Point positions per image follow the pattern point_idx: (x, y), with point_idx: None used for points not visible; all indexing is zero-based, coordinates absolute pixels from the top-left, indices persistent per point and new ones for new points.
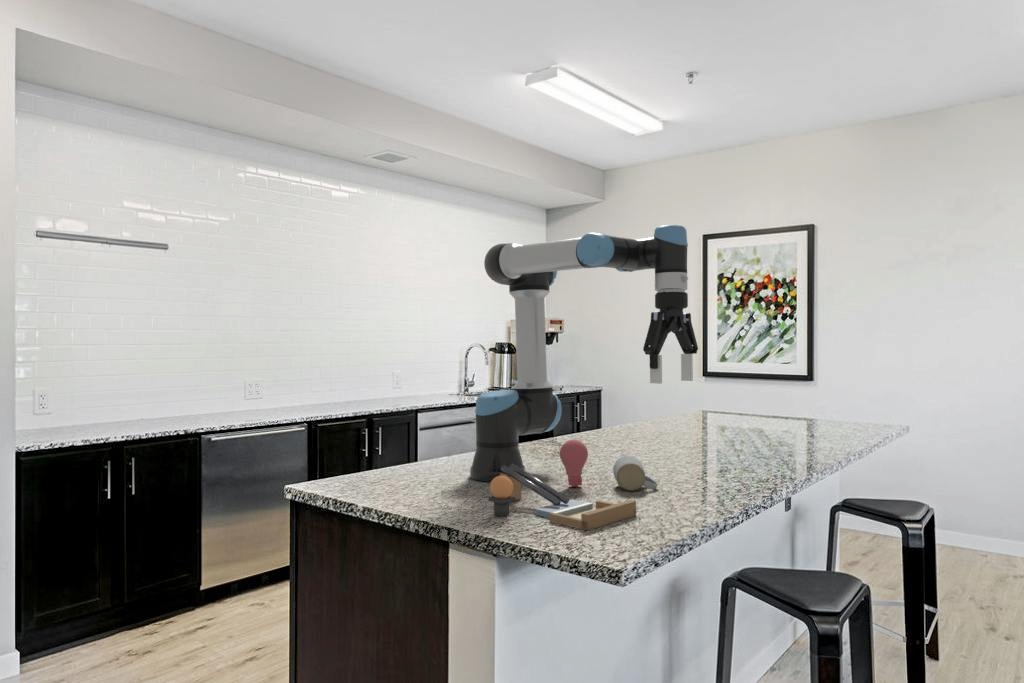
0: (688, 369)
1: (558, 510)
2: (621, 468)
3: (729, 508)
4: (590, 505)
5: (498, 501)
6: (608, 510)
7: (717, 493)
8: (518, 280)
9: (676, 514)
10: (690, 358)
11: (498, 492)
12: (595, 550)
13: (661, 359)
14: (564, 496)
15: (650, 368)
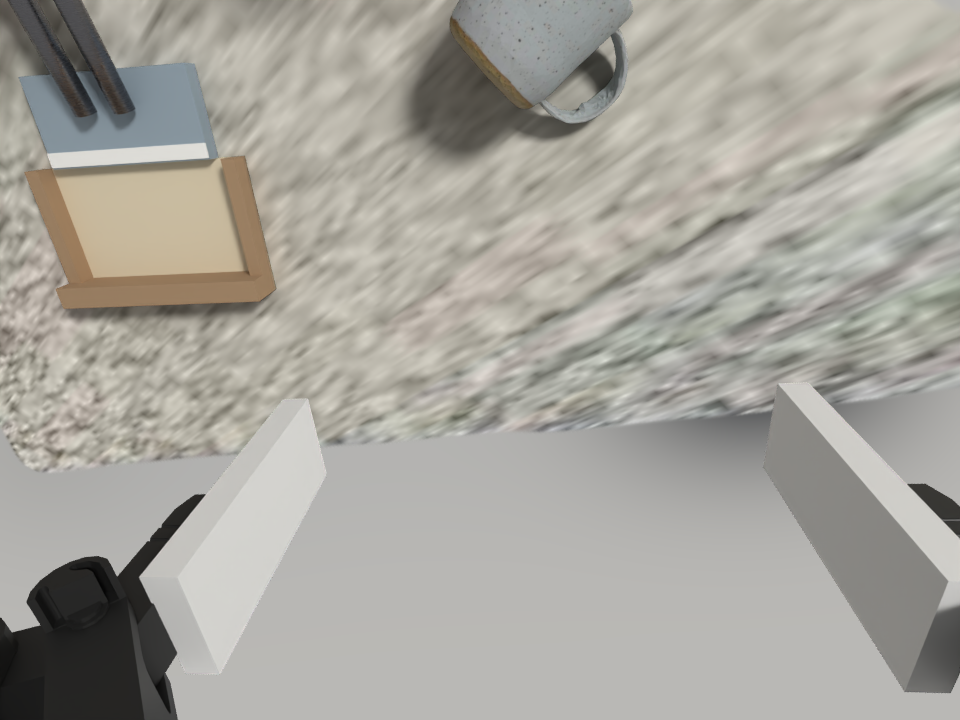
0: (813, 514)
1: (76, 145)
2: (456, 33)
3: (520, 404)
4: (201, 159)
5: None
6: (144, 304)
7: (671, 296)
8: None
9: (368, 349)
10: (872, 631)
11: None
12: (39, 391)
13: (235, 629)
14: (110, 100)
15: (195, 498)
